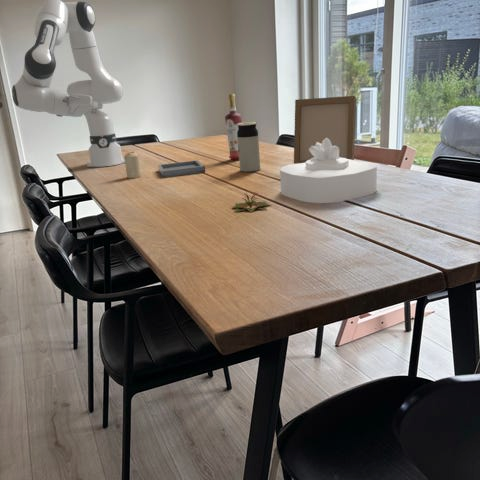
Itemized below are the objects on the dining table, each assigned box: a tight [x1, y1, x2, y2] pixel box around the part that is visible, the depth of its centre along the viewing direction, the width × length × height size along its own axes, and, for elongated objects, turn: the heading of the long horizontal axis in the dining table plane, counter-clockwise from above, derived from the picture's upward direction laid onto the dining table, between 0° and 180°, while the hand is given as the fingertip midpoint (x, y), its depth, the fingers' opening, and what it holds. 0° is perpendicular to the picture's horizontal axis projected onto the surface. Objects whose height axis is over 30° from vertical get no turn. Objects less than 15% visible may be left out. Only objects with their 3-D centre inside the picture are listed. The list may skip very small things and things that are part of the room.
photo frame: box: [293, 95, 357, 164], centre depth 175 cm, size 15×22×25 cm
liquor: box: [224, 93, 243, 161], centre depth 204 cm, size 7×7×28 cm
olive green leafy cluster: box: [231, 192, 272, 213], centre depth 129 cm, size 12×12×5 cm
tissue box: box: [279, 138, 378, 204], centre depth 138 cm, size 25×25×16 cm
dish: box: [157, 159, 206, 179], centre depth 190 cm, size 17×17×2 cm
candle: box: [123, 151, 142, 179], centre depth 186 cm, size 6×6×10 cm
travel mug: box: [237, 121, 261, 173], centre depth 178 cm, size 8×8×18 cm
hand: (99, 109), depth 178 cm, fingers open, 8 cm apart
